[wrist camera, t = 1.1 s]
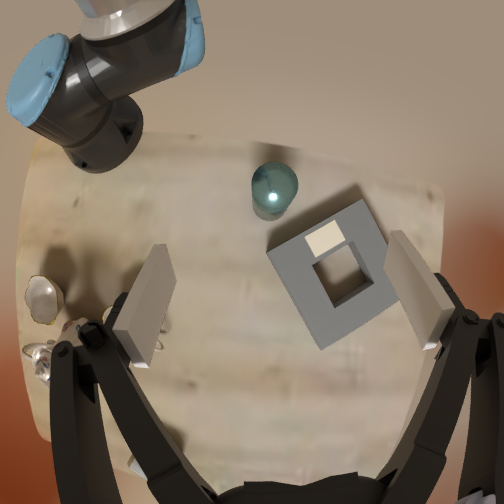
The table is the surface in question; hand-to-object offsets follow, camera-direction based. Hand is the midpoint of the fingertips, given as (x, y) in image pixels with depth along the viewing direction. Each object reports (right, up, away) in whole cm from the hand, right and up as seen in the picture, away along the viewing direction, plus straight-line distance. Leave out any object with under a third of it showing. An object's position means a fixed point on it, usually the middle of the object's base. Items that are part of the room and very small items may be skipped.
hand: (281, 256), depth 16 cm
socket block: (+11, -3, +25) cm, 28 cm away
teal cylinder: (+1, +7, +26) cm, 27 cm away
